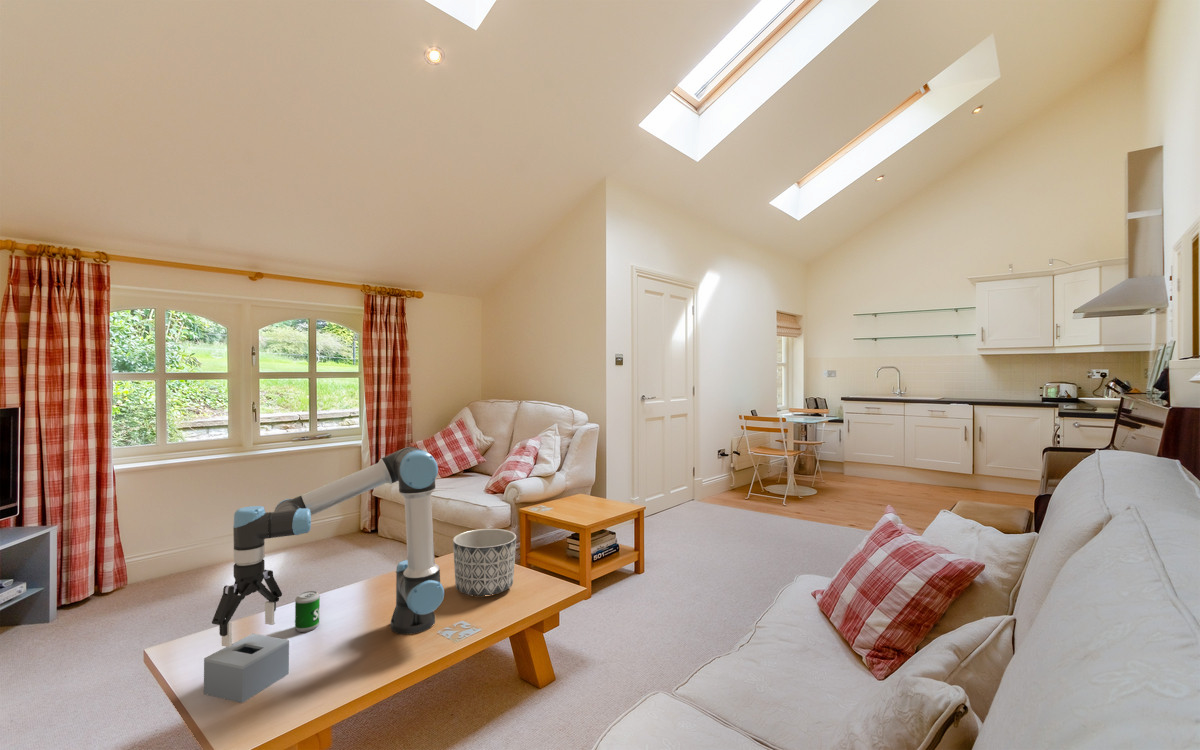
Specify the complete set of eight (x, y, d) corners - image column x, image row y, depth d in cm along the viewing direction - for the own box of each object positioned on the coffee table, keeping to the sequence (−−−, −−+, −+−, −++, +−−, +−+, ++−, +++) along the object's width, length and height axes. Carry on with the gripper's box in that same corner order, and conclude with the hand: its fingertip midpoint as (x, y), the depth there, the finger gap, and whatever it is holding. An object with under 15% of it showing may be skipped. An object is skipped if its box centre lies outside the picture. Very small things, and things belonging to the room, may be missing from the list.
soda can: (308, 634, 183) (309, 599, 183) (289, 632, 184) (290, 597, 184) (324, 624, 190) (324, 590, 190) (305, 622, 192) (306, 589, 192)
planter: (467, 576, 237) (467, 527, 237) (523, 579, 234) (523, 530, 234) (441, 600, 211) (442, 545, 211) (504, 605, 208) (505, 549, 208)
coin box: (288, 673, 159) (289, 640, 159) (242, 703, 144) (242, 666, 144) (252, 666, 163) (252, 633, 163) (203, 694, 148) (204, 658, 148)
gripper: (276, 546, 167) (276, 614, 167) (196, 575, 143) (195, 654, 143) (295, 548, 165) (295, 617, 165) (217, 578, 141) (216, 658, 141)
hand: (249, 634), depth 154 cm, fingers open, 13 cm apart
